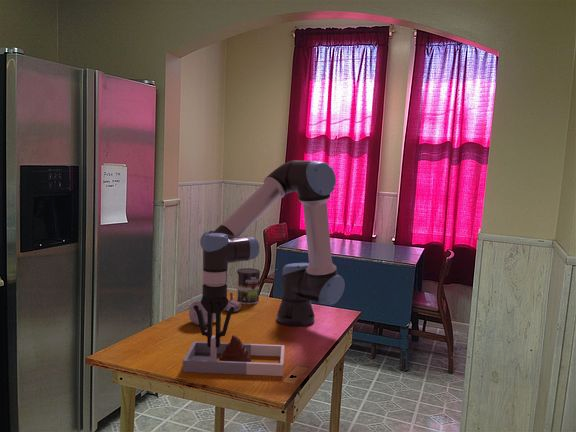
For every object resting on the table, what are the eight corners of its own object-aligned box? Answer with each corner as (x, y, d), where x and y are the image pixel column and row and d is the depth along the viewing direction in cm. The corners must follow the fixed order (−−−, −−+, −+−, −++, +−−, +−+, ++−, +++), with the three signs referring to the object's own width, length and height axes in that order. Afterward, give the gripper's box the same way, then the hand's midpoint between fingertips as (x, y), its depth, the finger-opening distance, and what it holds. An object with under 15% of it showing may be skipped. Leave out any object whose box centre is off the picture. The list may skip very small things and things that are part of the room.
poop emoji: (219, 370, 155) (220, 340, 154) (217, 359, 164) (218, 331, 163) (252, 368, 157) (253, 339, 156) (249, 358, 166) (249, 330, 165)
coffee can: (263, 302, 228) (264, 271, 226) (242, 305, 223) (243, 274, 221) (252, 297, 237) (253, 267, 235) (232, 299, 231) (232, 269, 230)
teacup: (191, 328, 191) (192, 308, 190) (185, 320, 201) (185, 300, 200) (227, 325, 196) (228, 305, 196) (219, 316, 206) (220, 297, 205)
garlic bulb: (219, 310, 215) (219, 291, 214) (233, 307, 220) (233, 289, 219) (230, 314, 210) (230, 295, 209) (244, 311, 215) (244, 292, 214)
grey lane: (182, 371, 153) (182, 360, 153) (193, 351, 169) (193, 341, 169) (246, 374, 153) (246, 363, 152) (250, 354, 169) (251, 343, 168)
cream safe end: (246, 374, 153) (246, 363, 152) (250, 354, 169) (251, 343, 168) (282, 376, 153) (283, 364, 152) (284, 355, 169) (284, 345, 168)
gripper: (237, 281, 162) (235, 353, 164) (196, 279, 162) (195, 351, 165) (234, 287, 154) (232, 362, 157) (191, 285, 154) (190, 360, 157)
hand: (213, 356), depth 161 cm, fingers closed
